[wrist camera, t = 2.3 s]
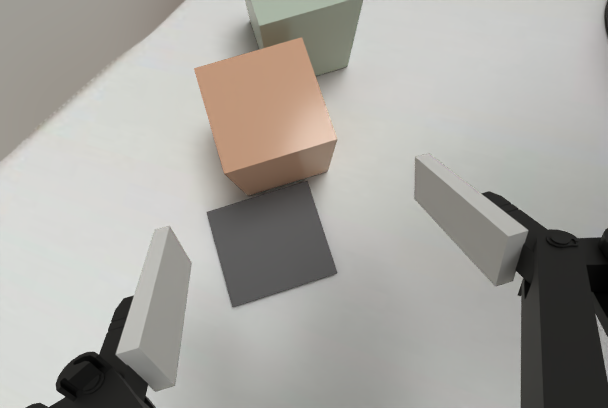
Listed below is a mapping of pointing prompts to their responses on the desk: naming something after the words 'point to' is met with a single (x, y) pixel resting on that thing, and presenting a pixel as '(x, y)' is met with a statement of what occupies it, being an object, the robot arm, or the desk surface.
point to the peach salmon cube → (268, 116)
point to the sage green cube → (308, 27)
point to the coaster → (270, 243)
